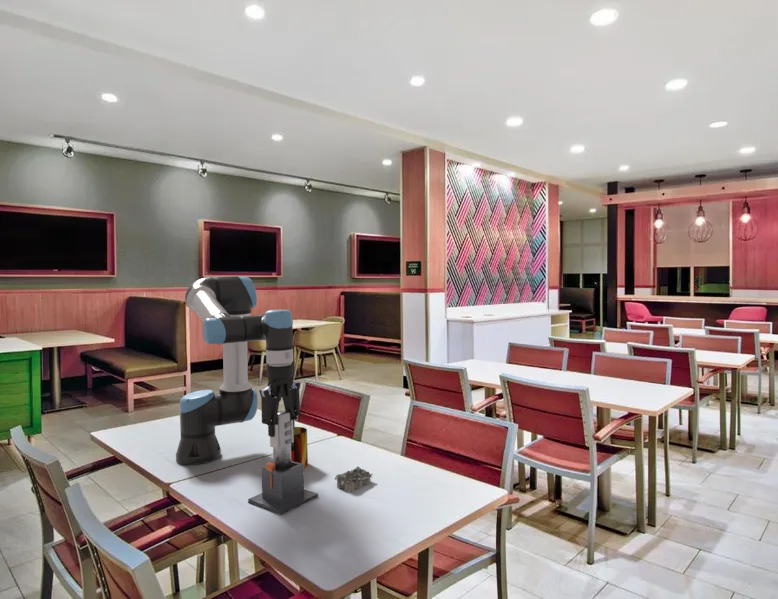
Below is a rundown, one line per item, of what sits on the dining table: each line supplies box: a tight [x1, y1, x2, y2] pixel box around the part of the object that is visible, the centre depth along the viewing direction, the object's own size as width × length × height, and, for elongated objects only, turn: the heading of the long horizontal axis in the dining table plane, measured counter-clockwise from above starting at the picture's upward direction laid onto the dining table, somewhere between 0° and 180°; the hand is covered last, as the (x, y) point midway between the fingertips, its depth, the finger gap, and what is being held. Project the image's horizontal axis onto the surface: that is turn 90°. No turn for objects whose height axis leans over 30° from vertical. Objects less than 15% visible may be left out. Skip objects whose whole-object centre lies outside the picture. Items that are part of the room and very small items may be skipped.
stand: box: [247, 461, 319, 516], centre depth 151 cm, size 14×14×12 cm
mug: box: [291, 426, 309, 469], centre depth 177 cm, size 10×14×12 cm
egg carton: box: [334, 466, 374, 492], centre depth 162 cm, size 11×8×4 cm
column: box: [272, 410, 292, 471], centre depth 151 cm, size 6×6×20 cm
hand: (282, 444), depth 151 cm, fingers closed on column, 5 cm apart
